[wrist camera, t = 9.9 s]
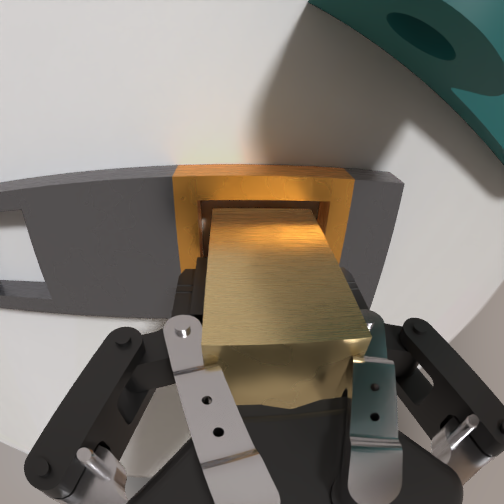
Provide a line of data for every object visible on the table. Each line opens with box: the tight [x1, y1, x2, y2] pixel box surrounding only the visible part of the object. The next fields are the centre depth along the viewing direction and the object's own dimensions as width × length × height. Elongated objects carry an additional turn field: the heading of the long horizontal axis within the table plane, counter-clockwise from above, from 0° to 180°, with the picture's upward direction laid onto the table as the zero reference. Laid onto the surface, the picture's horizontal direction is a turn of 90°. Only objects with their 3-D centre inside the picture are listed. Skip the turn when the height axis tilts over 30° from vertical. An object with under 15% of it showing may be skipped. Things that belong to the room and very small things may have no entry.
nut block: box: [201, 208, 372, 409], centre depth 12 cm, size 4×4×8 cm
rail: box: [0, 164, 404, 319], centre depth 15 cm, size 8×28×2 cm, turn 89°
